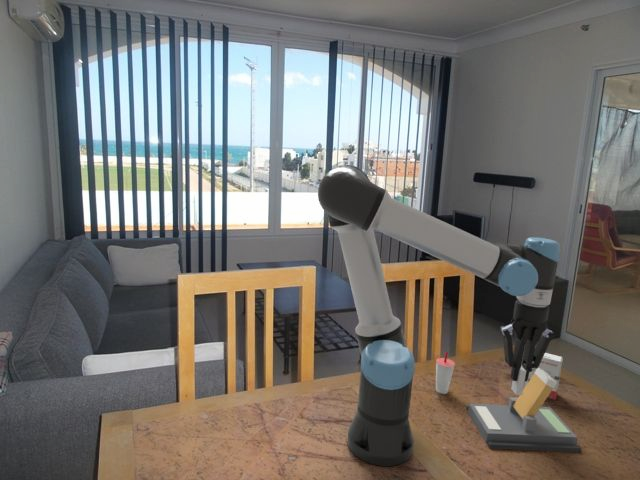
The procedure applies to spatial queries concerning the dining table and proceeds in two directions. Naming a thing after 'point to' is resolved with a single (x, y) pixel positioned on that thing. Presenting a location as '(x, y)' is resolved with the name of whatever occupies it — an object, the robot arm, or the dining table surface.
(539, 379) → the breaker lever
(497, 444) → the dark grey edge strip
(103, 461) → the dining table surface
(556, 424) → the panel
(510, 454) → the dining table surface
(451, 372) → the cup
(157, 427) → the dining table surface
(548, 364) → the ink box
